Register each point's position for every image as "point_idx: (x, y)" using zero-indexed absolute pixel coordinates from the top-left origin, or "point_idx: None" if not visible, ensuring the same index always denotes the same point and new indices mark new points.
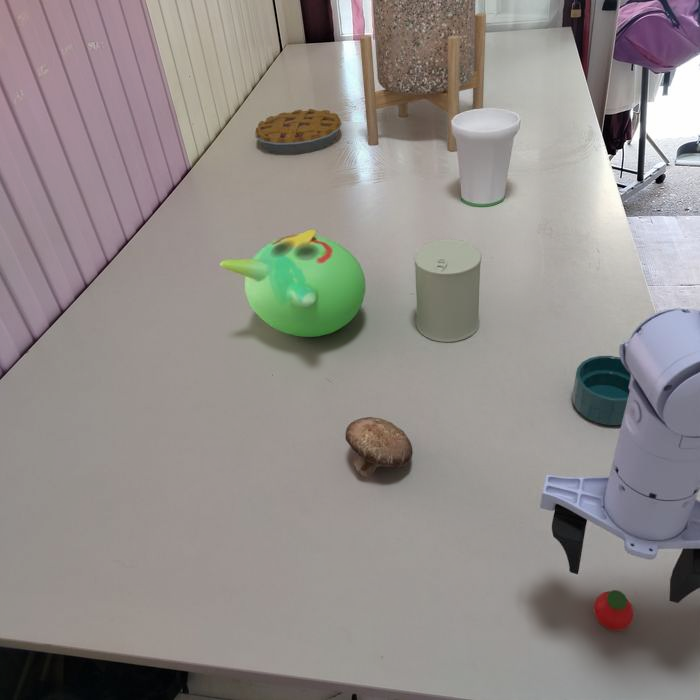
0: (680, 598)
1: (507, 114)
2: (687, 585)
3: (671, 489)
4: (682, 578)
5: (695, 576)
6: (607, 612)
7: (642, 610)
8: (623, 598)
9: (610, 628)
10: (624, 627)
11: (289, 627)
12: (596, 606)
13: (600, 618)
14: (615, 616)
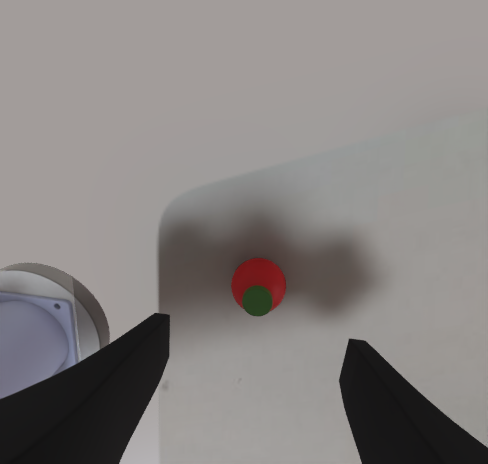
0: (142, 324)
1: None
2: (101, 368)
3: None
4: (114, 385)
5: (15, 439)
6: (270, 279)
7: (218, 294)
8: (247, 305)
9: (262, 258)
10: (243, 263)
11: None
12: (284, 286)
13: (278, 269)
14: (258, 274)
